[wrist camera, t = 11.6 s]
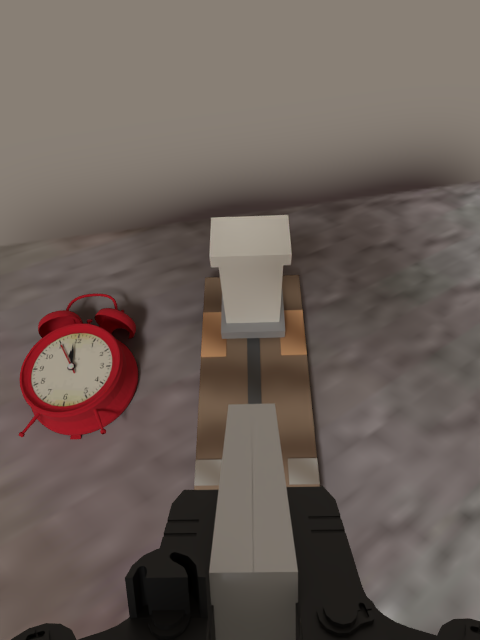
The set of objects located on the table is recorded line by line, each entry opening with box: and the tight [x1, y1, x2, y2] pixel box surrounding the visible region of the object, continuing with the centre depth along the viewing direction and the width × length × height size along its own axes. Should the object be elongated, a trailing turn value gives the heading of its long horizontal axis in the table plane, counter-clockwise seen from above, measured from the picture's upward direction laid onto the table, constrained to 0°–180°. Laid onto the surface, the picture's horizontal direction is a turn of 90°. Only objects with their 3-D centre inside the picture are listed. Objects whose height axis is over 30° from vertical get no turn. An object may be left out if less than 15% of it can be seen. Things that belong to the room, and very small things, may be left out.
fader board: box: [194, 275, 320, 490], centre depth 38 cm, size 24×10×2 cm, turn 0°
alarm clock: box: [19, 294, 138, 439], centre depth 40 cm, size 10×6×15 cm
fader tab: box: [209, 215, 292, 339], centre depth 36 cm, size 5×6×11 cm
